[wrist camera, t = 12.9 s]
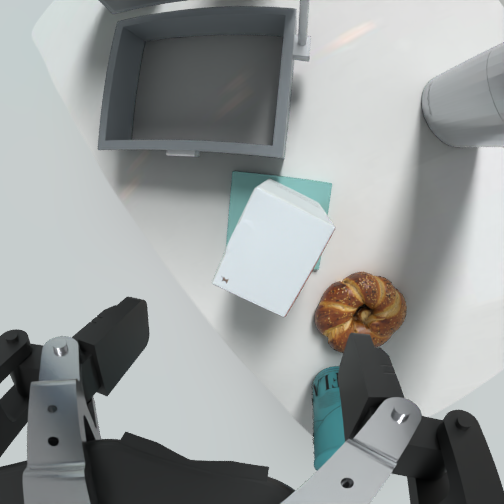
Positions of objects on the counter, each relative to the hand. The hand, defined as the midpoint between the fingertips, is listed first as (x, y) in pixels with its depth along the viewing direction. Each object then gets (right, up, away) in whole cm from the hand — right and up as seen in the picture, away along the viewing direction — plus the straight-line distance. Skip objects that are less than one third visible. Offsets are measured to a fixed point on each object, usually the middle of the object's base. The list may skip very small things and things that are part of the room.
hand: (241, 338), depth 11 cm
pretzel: (+14, -4, +25) cm, 29 cm away
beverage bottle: (+12, -14, +28) cm, 34 cm away
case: (-4, +23, +19) cm, 30 cm away
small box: (+3, +7, +22) cm, 24 cm away
